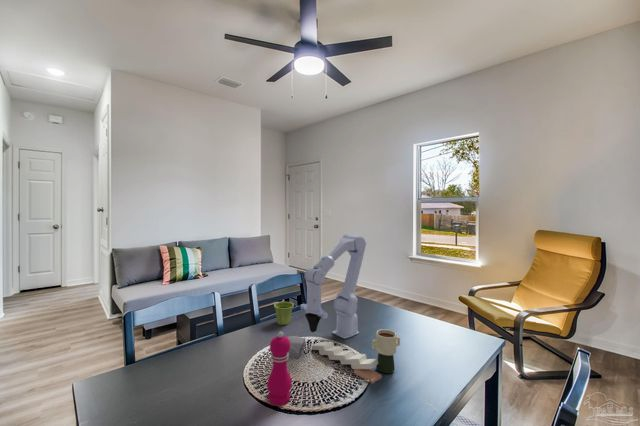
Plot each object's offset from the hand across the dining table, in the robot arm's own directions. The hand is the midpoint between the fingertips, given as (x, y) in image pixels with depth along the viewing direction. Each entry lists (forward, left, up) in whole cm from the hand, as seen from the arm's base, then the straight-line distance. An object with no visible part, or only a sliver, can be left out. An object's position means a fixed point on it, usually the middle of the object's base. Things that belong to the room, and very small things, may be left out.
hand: (313, 331), depth 120 cm
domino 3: (0, +12, -5) cm, 13 cm away
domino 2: (0, +7, -5) cm, 9 cm away
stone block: (+9, -3, -6) cm, 12 cm away
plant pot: (-4, -26, -6) cm, 27 cm away
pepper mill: (+29, +19, -6) cm, 35 cm away
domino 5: (-1, +22, -5) cm, 22 cm away
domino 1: (0, +2, -5) cm, 6 cm away
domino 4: (-1, +17, -5) cm, 18 cm away
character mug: (-8, +30, -6) cm, 31 cm away
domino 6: (-1, +24, -6) cm, 24 cm away
